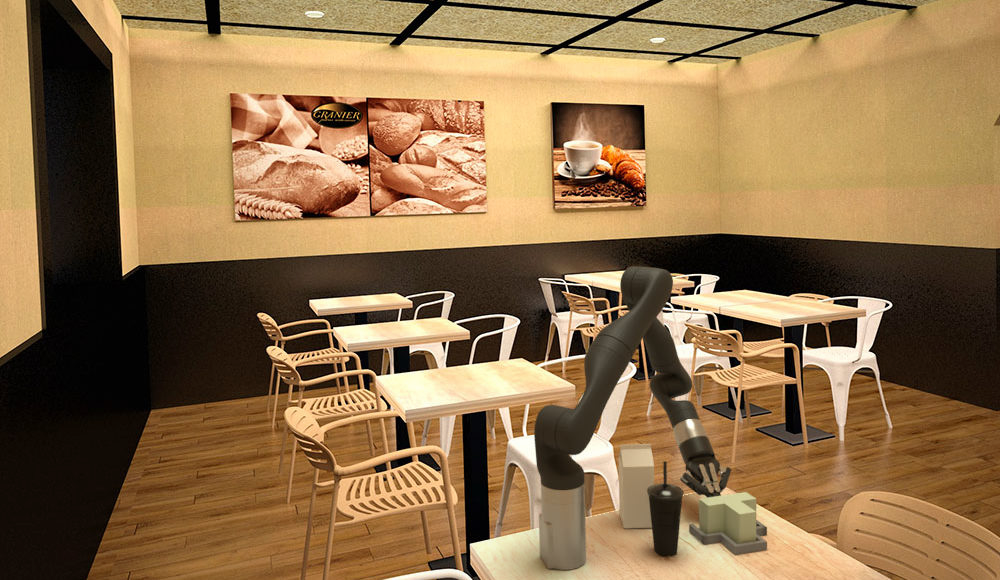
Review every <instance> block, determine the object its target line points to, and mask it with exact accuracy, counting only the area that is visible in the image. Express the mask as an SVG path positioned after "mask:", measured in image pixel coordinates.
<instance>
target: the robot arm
mask: <svg viewBox="0 0 1000 580" xmlns="http://www.w3.org/2000/svg"><path fill="white" fill-rule="evenodd" d="M619 285H620V288H619V289H620V293H621V296H622V299H623V302H624V304H625V306H626V307H627V310H628V312H626V313H625V314H623V315H621V316H620V317H618V318H617V319H615V320H613V321H611V322H610V323H608V324H607V325H606V326H604V327H603V328H602V329H601V330H599V332H598V333H597V334H596V336H595V337H594V339H593V341H592V342H591V344H590V346H589V347H588V349H587V351H586V353H585V355H584V359H583V360H584V362H583V366H584V378H585V379H584V380H585V389H584V392H583V394H582V396H581V398H580V399H579V402H578V403H577V404H576V406H575V407H573V408H570V407H566V406H560V405H555V404H548V405H545V406H543V407H542V408H541V409H540V410H539V412H538V414H537V415H536V418H535V422H534V429H533V433H534V438H533V439H534V448H535V449H534V450H535V463H536V468H537V472H538V474H539V476H540V500H541V501H540V502H541V503H540V505H541V508H540V509H541V513H538V529H539V530H538V534H539V557H540V558H541V560H542V561H543V563H544V565H545V567H546V569H549V570H550V569H551V570H552V569H556V570H563V571H564V570H566V571H567V570H574V569H578V568H580V567H582V566H583V565H584V564H585V563H586V562H587V540H586V538H587V537H586V536H587V535H586V534H587V533H586V492H585V491H586V489H585V482H586V481H585V471H584V468H583V467H582V466H581V465H580V464H579V462H577V461H575V459H573V458H572V456H578V455H580V454H581V453H582V452H584V451H585V449H586V448H587V447H588V445H589V444H590V443H591V440H592V438H593V435H594V434H595V432H596V430H597V427H598V424H599V422H600V420H601V417H602V416H603V413H604V410H605V408H606V406H607V404H608V402H609V400H610V397H612V396H611V395H612V394H613V393H614V391H615V388H616V387H617V384H618V383H619V381H620V379H621V377H622V376H623V375H624V373H625V372H626V369H627V368H628V365H630V362H631V361H632V358H633V356H634V354H635V353H636V350H637V349H638V347H639V345H640V343H641V342H642V340H643V342H644V344H645V348H646V352H647V354H648V359H649V363H650V365H651V368H652V369H653V371H654V372H656V373H657V374H655V375H652V377H651V378H650V381H649V389H650V391H651V393H652V394H653V396H654V398H655V399H656V401H658V403H659V404H660V405H661V407H662V408H663V410H664V411H665V413H666V415H667V417H668V419H669V422H670V425H671V428H672V430H673V433H674V438H675V441H676V445H677V446H678V450H679V452H680V454H681V458H682V461H683V463H684V465H685V472H684V473H683V474H682V475H681V476H680V479H679V480H680V481H681V482H682V483H683V484H684V485H685V486H687V487H688V488H689V489H691V490H692V491H693V492H695V494H697V496H705V498H709V497H715V496H722V494H721V493H723V491H724V490H726V488H727V484H728V481H729V478H730V475H731V471H732V469H731V467H728V466H727V467H725V466H722V465H721V463H720V462H719V460H718V459H717V458H716V455H715V452H714V449H713V446H712V444H711V441H710V439H709V437H708V434H707V431H706V429H705V426H704V425H703V424H702V422H701V419H700V416H699V415H698V412H697V410H696V407H695V404H694V403H693V402H692V401H691V400H673V399H675V398H679V397H681V396H685V395H688V394H689V393H690V392H692V391H691V390H692V389H693V380H692V377H691V376H690V375H689V373H688V371H687V370H686V368H685V367H684V365H683V364H682V363H681V361H680V357H679V355H678V352H677V348H676V344H675V343H676V342H675V341H674V338H673V336H672V334H671V333H670V331H669V330H668V329H667V327H665V325H664V324H663V323H662V322H661V321H660V320H659V318H657V317H658V316H659V315H660V313H661V312H662V310H663V309H664V308H665V306H666V304H667V302H668V301H669V299H670V296H671V295H672V291H673V285H674V279H673V276H672V274H671V273H670V272H669V271H668V270H667V269H665V268H664V269H663V268H658V267H649V266H636V265H635V266H629V267H627V268H626V269H625V270H624V271H623V273H622V276H621V278H620V284H619ZM718 474H719V477H720V479H719V478H718Z"/></svg>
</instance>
